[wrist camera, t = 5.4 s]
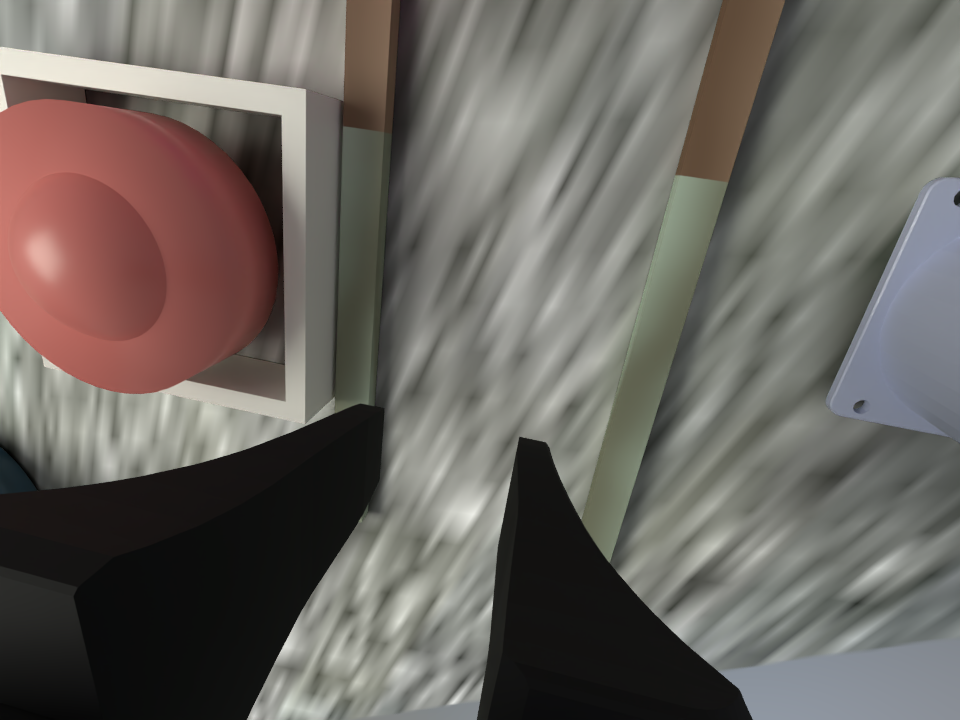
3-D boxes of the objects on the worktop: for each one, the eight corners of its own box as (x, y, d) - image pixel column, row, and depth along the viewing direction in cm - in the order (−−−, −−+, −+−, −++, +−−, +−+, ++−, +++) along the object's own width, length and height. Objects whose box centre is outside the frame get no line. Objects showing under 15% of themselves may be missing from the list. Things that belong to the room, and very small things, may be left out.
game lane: (992, -704, 10) (1026, -774, 9) (603, 567, 23) (604, 580, 22) (380, -676, 11) (367, -734, 11) (339, 505, 24) (331, 515, 23)
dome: (299, 135, 17) (169, 115, 12) (300, 368, 20) (200, 440, 15) (73, 101, 18) (-146, 69, 13) (109, 329, 21) (-51, 382, 16)
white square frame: (348, 103, 17) (305, 89, 15) (338, 392, 22) (305, 424, 19) (62, 63, 19) (-27, 43, 16) (107, 343, 23) (44, 366, 20)
